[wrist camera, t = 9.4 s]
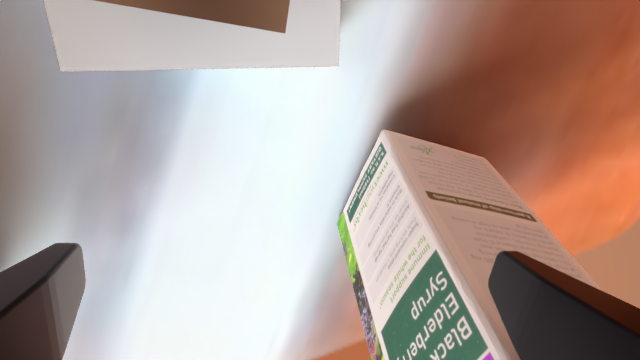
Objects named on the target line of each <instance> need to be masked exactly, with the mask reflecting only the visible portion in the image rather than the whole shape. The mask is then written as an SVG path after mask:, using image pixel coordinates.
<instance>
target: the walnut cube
mask: <svg viewBox="0 0 640 360" xmlns="http://www.w3.org/2000/svg"><path fill="white" fill-rule="evenodd" d="M94 1H100V2H106V3H111V4H117V5H123V6H129V7H135V8H140V9H146V10H152V11H158V12H164V13H169V14H175V15H181V16H187V17H192V18H198V19H204V20H210V21H216V22H221V23H227V24H233V25H239V26H245V27H250V28H256V29H262V30H268V31H273V32H279V33H285V32H286V25H287V18H288V11H289V4H290V0H94Z"/></svg>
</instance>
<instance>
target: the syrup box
mask: <svg viewBox="0 0 640 360" xmlns="http://www.w3.org/2000/svg"><path fill="white" fill-rule="evenodd" d="M337 225H338V229H339V233H340V237H341V240H342V244H343V248H344V252H345V257H346V260H347V264H348V268H349V273H350V276H351V280H352V284H353V288H354V292H355V296H356V299H357V303H358V307H359V312H360V316H361V320H362V324H363V328H364V332H365V336H366V340H367V344H368V347H369V351H370V355H371V359H372V360H520V358H519V356H518V354H517V353H516V351H515V349H514V347H513V344H512V342H511V340H510V338H509V336H508V333H507V331H506V329H505V326H504V324H503V322H502V319H501V317H500V315H499V312H498V310H497V308H496V305H495V303H494V301H493V298H492V296H491V294H490V291H489V287H488V279H489V276H490V273H491V270H492V268H493V265H494V262H495V259H496V256H497V254H498V253H499V252H501V251H518V252H521V253H523V254H525V255H527V256H529V257H531V258H533V259H536V260H538V261H540V262H542V263H544V264H546V265H548V266H550V267H552V268H555V269H557V270H559V271H561V272H563V273H565V274H567V275H569V276H572V277H574V278H576V279H578V280H580V281H582V282H584V283H586V284H588V285H591V286H593V287H595V288H597V289H599V290H601V291H603V290H602V289H601V288H600V287H599V286H598V285H597V284H596V283H595V281H594V280H593V279H592V278H591V277H590V275H589V274H588V273H587V272H586V271H585V270H584V269H583V268H582V267H581V266H580V264H579V263H578V262H577V261H576V260H575V259H574V258H573V257H572V256H571V254H570V253H569V252H568V251H567V250H566V248H565V247H564V246H563V245H562V244H561V243H560V242H559V241H558V240H557V238H556V237H555V236H554V235H553V234H552V233H551V231H550V230H549V229H548V228H547V227H546V226H545V225H544V224H543V223H542V221H541V220H540V219H539V218H538V217H537V216H536V214H535V213H534V212H533V211H532V210H531V209H530V208H529V206H528V205H527V204H526V203H525V202H524V201H523V200H522V199H521V198H520V196H519V195H518V194H517V193H516V192H515V191H514V190H513V189H512V187H511V186H510V185H509V184H508V183H507V182H506V181H505V180H504V178H503V177H502V176H501V175H500V174H499V173H498V171H497V170H496V169H495V168H494V167H493V166H492V165H491V164H490V163H489V161H488V160H487V159H486V158H484V157H481V156H477V155H474V154H470V153H467V152H463V151H460V150H457V149H454V148H450V147H447V146H443V145H439V144H436V143H432V142H429V141H425V140H422V139H418V138H414V137H411V136H407V135H404V134H400V133H396V132H393V131H389V130H386V129H383V130H382V131H381V133H380V135H379V137H378V139H377V142H376V144H375V146H374V148H373V150H372V152H371V154H370V156H369V158H368V160H367V161H366V163H365V165H364V167H363V169H362V171H361V174H360V176H359V178H358V180H357V182H356V184H355V186H354V188H353V190H352V192H351V195H350V197H349V199H348V201H347V203H346V205H345V207H344V210H343V212H342V214H341V216H340V218H339V220H338V223H337ZM603 292H604V291H603Z"/></svg>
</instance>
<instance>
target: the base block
mask: <svg viewBox="0 0 640 360" xmlns="http://www.w3.org/2000/svg"><path fill="white" fill-rule="evenodd" d="M43 1H44V5H45V9H46V13H47V17H48V22H49V26H50V30H51V34H52V38H53V42H54V46H55V51H56V55H57V59H58V63H59V67H60V71H61V72H75V71H127V70H178V69H229V68H281V67H332V66H339V42H340V7H341V0H290V4H289V11H288V18H287V25H286V32H285V33H279V32H273V31H268V30H262V29H256V28H250V27H245V26H239V25H233V24H227V23H221V22H216V21H210V20H204V19H198V18H192V17H187V16H181V15H175V14H169V13H164V12H158V11H152V10H146V9H140V8H135V7H129V6H123V5H117V4H111V3H106V2H100V1H94V0H43Z"/></svg>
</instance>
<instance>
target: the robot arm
mask: <svg viewBox="0 0 640 360" xmlns="http://www.w3.org/2000/svg"><path fill="white" fill-rule="evenodd" d="M85 281H86V279H85V270H84V261H83V253H82V248H81V246H80V245H79V244H77V243H56V244H53V245H51V246H49V247H48V248H46V249H44V250H42V251H40V252H38V253H36V254H34V255H32V256H31V257H29V258H27V259H25V260H23V261H21V262H19V263H17V264H15V265H14V266H12V267H10V268H8V269H6V270H4V271H2V272H0V360H62V359H63V356H64V353H65V350H66V347H67V343H68V340H69V337H70V334H71V331H72V328H73V325H74V321H75V318H76V315H77V312H78V309H79V306H80V302H81V299H82V296H83V293H84V289H85ZM488 287H489V291H490V294H491V296H492V298H493V301H494V303H495V305H496V308H497V310H498V312H499V315H500V317H501V319H502V322H503V324H504V326H505V329H506V331H507V333H508V336H509V338H510V340H511V342H512V344H513V347H514V349H515V351H516V353H517V354H518V356H519V358H520V360H640V309H639V308H637V307H635V306H633V305H631V304H629V303H626V302H624V301H622V300H620V299H618V298H616V297H614V296H612V295H610V294H607V293H605V292H603V291H601V290H599V289H597V288H595V287H593V286H591V285H588V284H586V283H584V282H582V281H580V280H578V279H576V278H574V277H572V276H569V275H567V274H565V273H563V272H561V271H559V270H557V269H555V268H552V267H550V266H548V265H546V264H544V263H542V262H540V261H538V260H536V259H533V258H531V257H529V256H527V255H525V254H523V253H521V252H518V251H501V252H499V253H498V254H497V256H496V259H495V262H494V265H493V268H492V270H491V273H490V276H489V279H488Z"/></svg>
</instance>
